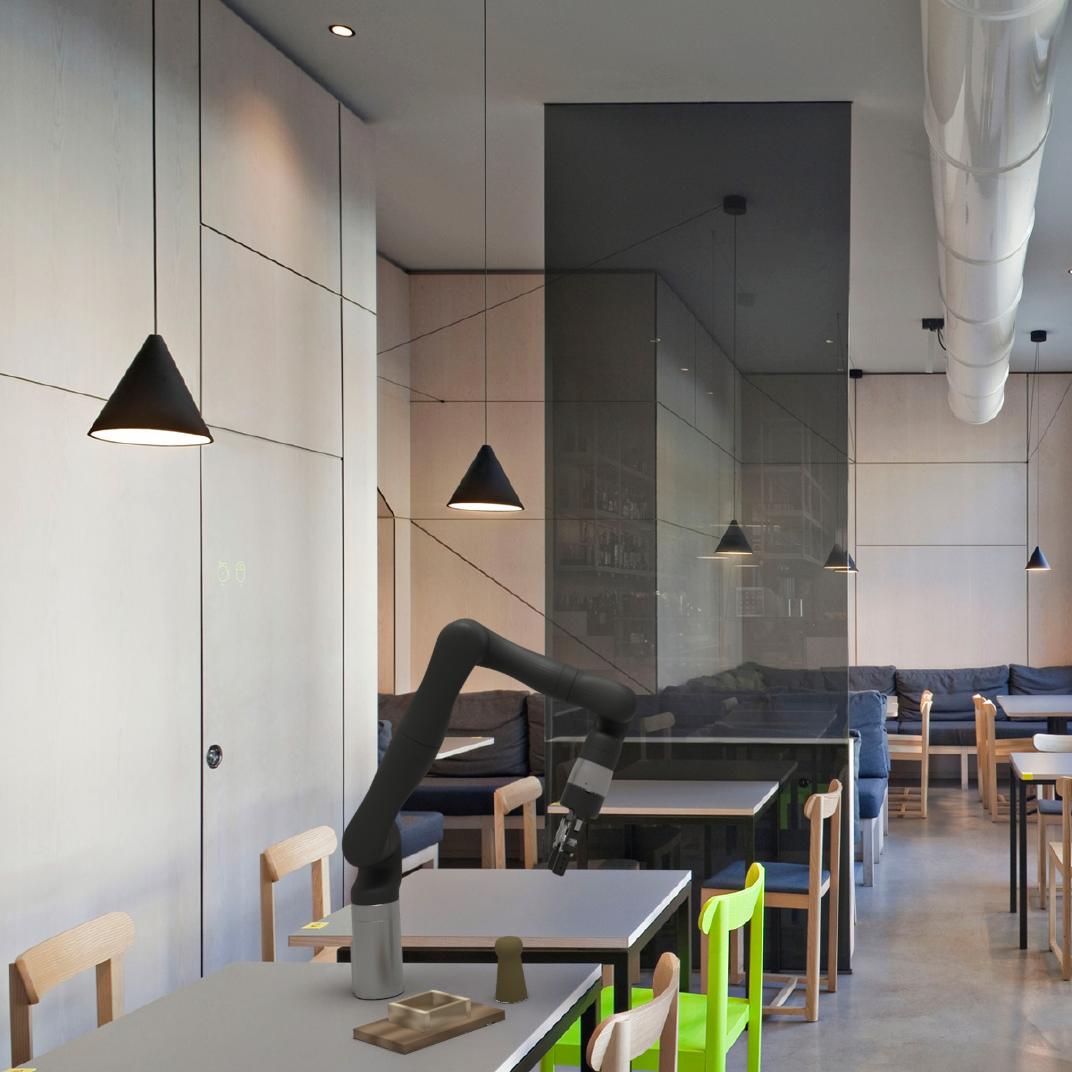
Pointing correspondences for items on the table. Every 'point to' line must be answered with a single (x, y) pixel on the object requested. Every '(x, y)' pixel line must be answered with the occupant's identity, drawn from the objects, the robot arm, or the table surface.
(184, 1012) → the table surface
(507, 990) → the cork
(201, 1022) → the table surface
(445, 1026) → the collar board
